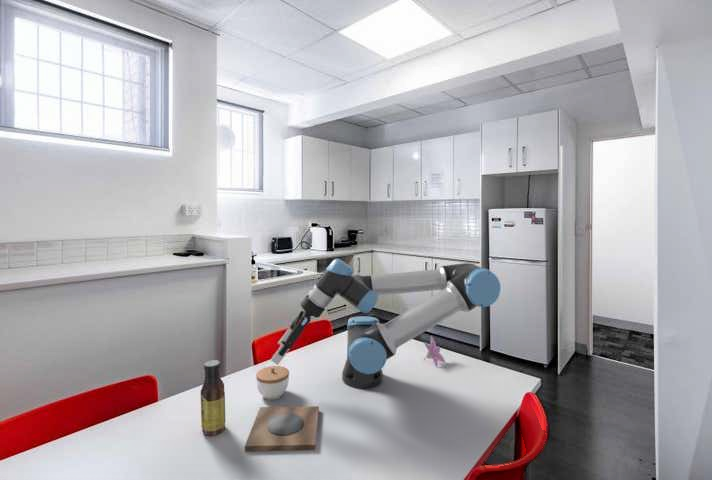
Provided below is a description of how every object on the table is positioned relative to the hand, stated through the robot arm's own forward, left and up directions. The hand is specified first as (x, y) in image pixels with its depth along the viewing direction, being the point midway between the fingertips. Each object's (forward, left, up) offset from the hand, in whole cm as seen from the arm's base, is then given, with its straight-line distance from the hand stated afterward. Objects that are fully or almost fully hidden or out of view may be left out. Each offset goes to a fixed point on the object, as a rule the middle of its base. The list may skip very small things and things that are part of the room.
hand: (277, 353), depth 115 cm
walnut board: (-5, +17, -15) cm, 23 cm away
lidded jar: (+2, -2, -16) cm, 16 cm away
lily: (-59, -26, -16) cm, 66 cm away
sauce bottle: (+15, +17, -16) cm, 27 cm away
